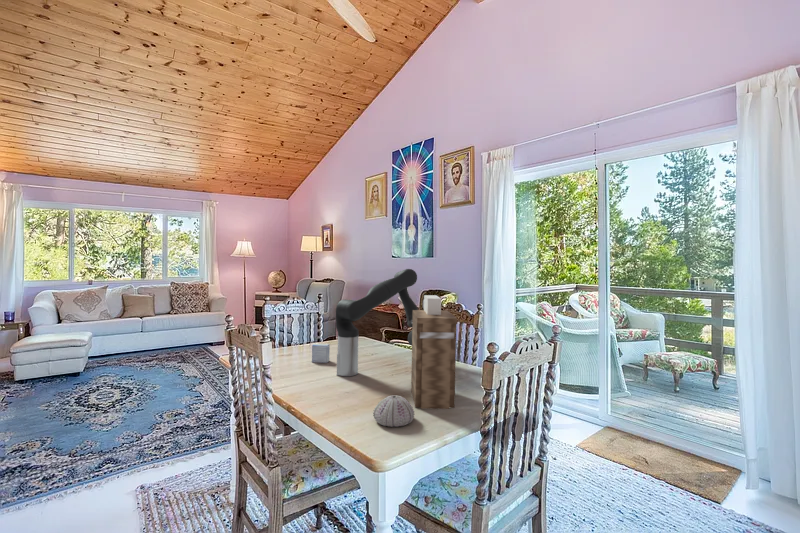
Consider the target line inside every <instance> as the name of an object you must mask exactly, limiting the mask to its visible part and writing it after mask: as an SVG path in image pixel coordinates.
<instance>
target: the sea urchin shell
mask: <svg viewBox="0 0 800 533" xmlns="http://www.w3.org/2000/svg"><path fill="white" fill-rule="evenodd" d="M413 407H414V406H412V404H411V403H410V401H408V399H407V398H405V397H403V396H401V395H395V394H394V395H393V394H391V395H387V396H385V398H383V399H381V400H380V401H379V402H378V404H376V406H375V408H374V409H373V412H372V413H373V419H375V421H376V422H377V424H379V425H381V426H384V427H386V426H387V427H391V428H392V427H395V428H396V427H403V426H406V425H409V424H410V423H412V421H413V420H414V418H415V410H414V408H413Z"/></svg>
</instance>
